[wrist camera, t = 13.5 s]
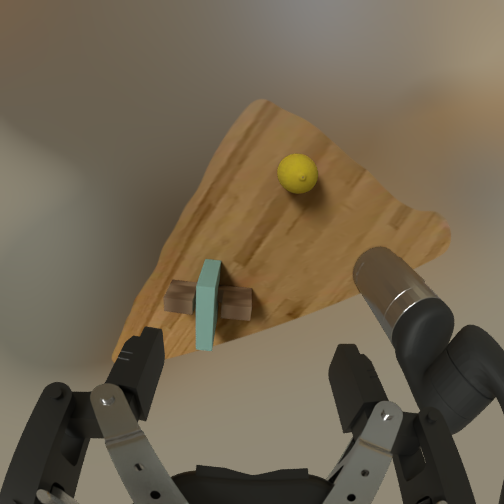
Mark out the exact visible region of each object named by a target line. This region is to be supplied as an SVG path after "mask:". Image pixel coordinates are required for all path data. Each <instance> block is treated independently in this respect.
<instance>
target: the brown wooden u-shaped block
mask: <svg viewBox="0 0 504 504" xmlns="http://www.w3.org/2000/svg"><path fill="white" fill-rule="evenodd" d="M196 285H197V282H188V281H179V280H172V282H171V284H170V286H169V288H168V290H167V292H166V294H165V296H164V311H168V312H176V313H183V314H191V315H192V314H193V311H194V308H195V304H196ZM217 302H221V303H222V307H221V318H226V319H237V320H248V321H250V318H251V310H252V288H245V287H234V286H225V285H219V286H218V294H217Z"/></svg>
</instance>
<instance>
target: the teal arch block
mask: <svg viewBox="0 0 504 504" xmlns="http://www.w3.org/2000/svg"><path fill="white" fill-rule="evenodd" d="M220 267H221V261H219V260H210V259H205V262H204V265H203V268H202V271H201V274H200V276H199V279H198V282H197V285H196V349H198V350H207V351H212V347H213V341H214V335H215V329H216V323H217V313H218V302H217V294H218V286H219V281H220Z"/></svg>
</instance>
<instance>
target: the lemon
mask: <svg viewBox="0 0 504 504" xmlns="http://www.w3.org/2000/svg"><path fill="white" fill-rule="evenodd" d="M277 175H278V179H279V182H280V184H281V185H282V186H283V187H284V188H285V189H286V190H287V191H290V192H292V193H297V194H300V193H305V192H308V191H309V190H311V189H312V188H313V187H314V186H315V184H316V182H317V179H318V170H317V167H316V165H315V163H314V162H313V161H312V160H311V159H310V158H309V157H307V156H305V155H302V154H291V155H289V156H287V157H285V158H284V159H283V160H282V161H281V162H280V164H279V167H278V171H277Z"/></svg>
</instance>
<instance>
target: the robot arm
mask: <svg viewBox="0 0 504 504" xmlns="http://www.w3.org/2000/svg"><path fill="white" fill-rule="evenodd" d="M353 279H354V282H355V284H356V286H357V287H358V289H359V291H360V292H361V294H362V296H363V297H364V299H365V300H366V302H367V303H368V305H369V307H370V308H371V310H372V312H373V313H374V315H375V316H376V318H377V320H378V321H379V323H380V325H381V326H382V328H383V330H384V331H385V333H386V334H387V336H388V338H389V339H390V341H391V343H392V345H393V346H394V348H395V353H396V358H397V360H398V362H399V365H400V367H401V368H402V371H403V373H404V375H405V377H406V380H407V382H408V384H409V387H410V389H411V392H412V394H413V396H414V398H415V401H416V403H417V405H418V407H419V409H420V412H419V413H408V412H402V410H401V408H400V407H399V406H398V405H397V404H395V403H393V402H391V401H389V400H388V398H387V396H386V393H385V391H384V389H383V387H382V384H381V382H380V380H379V378H378V375H377V373H376V371H375V369H374V366H373V364H372V362H371V361H370V360H369V359H368V358H367V357H366V356H365V355H364V354H360V353H359V351H358V348H357V346H356V345H355V344H339V345H338V347H337V349H336V352H335V354H334V357H333V360H332V362H331V364H330V367H329V381H330V385H331V388H332V392H333V396H334V399H335V403H336V407H337V410H338V414H339V418H340V422H341V425H342V429H343V433H349V432H352V434H353V437H352V439H351V441H350V442H349V444H348V446H347V448H346V449H345V451H344V453H343V454H342V456H341V458H340V459H339V461H338V463H337V464H336V466H335V467H334V469H333V470H332V472H331V473H330V474H329V475H328V477H327V478H326V479H323V478H321V477H318V476H314V475H309V474H308V469H307V468H303V469H282V470H277V471H273V472H268V473H264V474H259V475H249V474H245V473H241V472H237V471H234V470H230V469H227V468H221V467H211V466H202V465H197V466H196V471H188V472H183V473H180V474H177V475H175V476H172V477H170V476H169V474H168V473H167V471H166V470H165V468H164V466H163V465H162V463H161V462H160V460H159V458H158V457H157V455H156V453H155V452H154V450H153V448H152V447H151V445H150V443H149V441H148V439H147V437H146V436H145V434H144V432H143V431H142V430H141V428H140V427H139V425H138V420H143V421H146V420H147V417H148V413H149V410H150V407H151V403H152V400H153V397H154V394H155V390H156V387H157V384H158V381H159V378H160V375H161V372H162V368H163V365H164V359H165V352H164V343H163V333H162V329H158V328H152V327H145V328H144V329H143V331H142V333H141V336H140V337H138V336H132V337H131V338H130V339H129V340H127V341H126V342H125V344H124V346H123V348H122V350H121V352H120V354H119V356H118V358H117V360H116V362H115V364H114V366H113V368H112V370H111V372H110V374H109V376H108V378H107V380H106V382H105V383H104V384H101V385H98V386H97V387H95V388H94V389H93V391H91V392H72V391H71V389H70V388H69V386H67V385H66V384H64V383H61V382H54V383H51V384H49V385H48V386H46V387H45V389H44V390H43V392H42V394H41V396H40V398H39V400H38V402H37V404H36V406H35V408H34V410H33V412H32V414H31V416H30V418H29V420H28V422H27V424H26V427H25V429H24V431H23V433H22V436H21V438H20V440H19V443H18V445H17V448H16V450H15V452H14V455H13V458H12V461H11V463H10V466H9V468H8V471H7V474H6V477H5V480H4V483H3V486H2V489H1V492H0V504H79V503H78V502H77V501H76V500H75V499H74V496H75V491H76V487H77V483H78V479H79V476H80V472H81V468H82V465H83V461H84V457H85V454H86V450H87V448H88V444H89V441H90V438H104V439H105V445H106V447H107V450H108V452H109V454H110V457H111V459H112V461H113V463H114V465H115V468H116V469H117V471H118V474H119V475H120V477H121V480H122V482H123V484H124V486H125V487H126V489H127V491H128V493H129V495H130V496H131V498H132V500H133V502H134V503H133V504H371V503H372V501H373V499H374V497H375V495H376V493H377V491H378V489H379V487H380V485H381V483H382V481H383V478H384V476H385V474H386V472H387V469H388V467H389V465H390V462H391V460H392V458H393V462H394V465H395V470H396V473H397V478H398V482H399V487H400V491H401V495H402V500H403V504H476V502H475V499H474V496H473V492H472V489H471V487H470V483H469V480H468V477H467V474H466V471H465V469H464V466H463V463H462V460H461V458H460V455H459V452H458V450H457V447H456V445H455V443H454V440H453V438H452V435H453V434H455V433H457V432H459V431H460V430H462V429H463V428H464V427H466V425H468V424H469V423H470V422H471V421H472V420H473V419H474V418H475V417H477V415H479V414H480V412H482V411H483V410H484V409H485V408H486V407H487V406H488V405H489V404H490V403H491V402H492V401H493V400H494V398H495V397H496V398H497V400H498V402H499V404H500V406H501V408H502V411H503V414H504V350H503V349H502V348H501V347H500V345H499V344H498V343H497V342H496V341H495V340H494V339H493V338H492V337H491V336H490V335H489V334H488V333H487V332H486V331H484V330H483V329H482V328H480V327H478V326H475V325H467V326H465V327H463V328H462V329H461V330H460V331H459V332H458V333H457V335H456V336H455V337H454V338H453V339H452V340H451V342H450V343H449V341H450V338H451V336H452V333H453V329H454V316H453V313H452V311H451V310H450V308H449V307H448V306H447V305H446V304H445V303H444V302H443V301H442V300H441V299H440V298H439V297H438V296H437V295H436V294H435V293H434V292H433V290H431V289H430V288H429V287H428V286H427V285H426V284H425V281H424V280H423V278H422V277H420V276H419V275H418V274H417V273H416V272H415V271H414V270H413V269H412V268H411V267H410V266H409V265H408V264H407V263H406V262H405V261H404V260H403V259H402V258H400V257H398V256H397V255H396V254H394V253H393V252H392V251H391V250H390V249H388V248H385V247H375V248H372V249H369V250H368V251H366V252H365V253H363V254H362V255H361V256H360V258H359V259H358V260H357V262H356V264H355V266H354V270H353ZM448 343H449V344H448ZM421 449H422V451H421ZM422 452H423V454H422ZM423 455H424V457H423ZM424 458H425V460H424ZM425 462H426V463H425ZM499 504H504V481H503V485H502V490H501V495H500V499H499Z"/></svg>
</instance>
